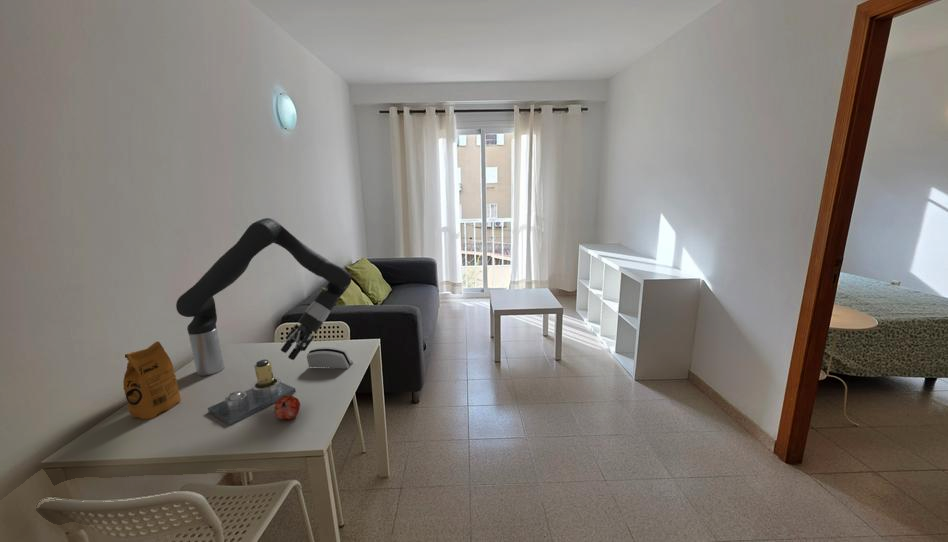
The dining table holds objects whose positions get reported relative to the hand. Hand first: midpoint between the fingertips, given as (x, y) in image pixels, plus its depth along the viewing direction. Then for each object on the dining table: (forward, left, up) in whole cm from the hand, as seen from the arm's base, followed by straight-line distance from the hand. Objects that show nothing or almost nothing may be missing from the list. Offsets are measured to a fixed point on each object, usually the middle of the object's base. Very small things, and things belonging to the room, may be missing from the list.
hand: (286, 355), depth 138 cm
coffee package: (-27, -32, -13) cm, 44 cm away
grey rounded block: (-1, +17, -13) cm, 21 cm away
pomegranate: (+17, -12, -13) cm, 24 cm away
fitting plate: (-2, -13, -12) cm, 18 cm away
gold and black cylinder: (-2, -7, -11) cm, 13 cm away
